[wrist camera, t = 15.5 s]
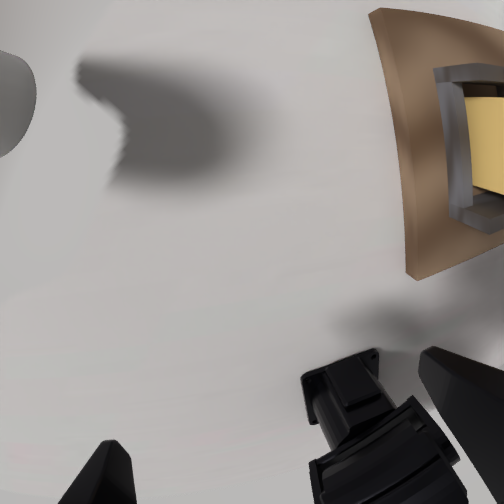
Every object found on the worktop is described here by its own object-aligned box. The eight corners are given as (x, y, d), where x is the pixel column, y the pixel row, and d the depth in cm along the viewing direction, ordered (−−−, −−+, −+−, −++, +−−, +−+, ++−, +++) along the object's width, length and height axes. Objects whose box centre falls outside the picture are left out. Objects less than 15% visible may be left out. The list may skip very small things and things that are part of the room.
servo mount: (513, 228, 23) (555, 247, 18) (405, 272, 22) (452, 308, 17) (495, 34, 16) (542, 28, 11) (368, 14, 15) (419, -13, 10)
